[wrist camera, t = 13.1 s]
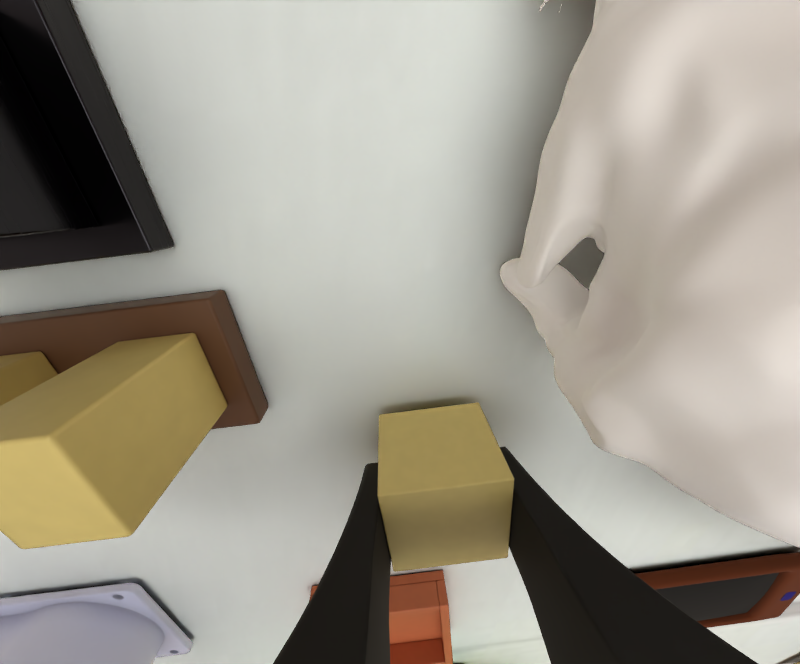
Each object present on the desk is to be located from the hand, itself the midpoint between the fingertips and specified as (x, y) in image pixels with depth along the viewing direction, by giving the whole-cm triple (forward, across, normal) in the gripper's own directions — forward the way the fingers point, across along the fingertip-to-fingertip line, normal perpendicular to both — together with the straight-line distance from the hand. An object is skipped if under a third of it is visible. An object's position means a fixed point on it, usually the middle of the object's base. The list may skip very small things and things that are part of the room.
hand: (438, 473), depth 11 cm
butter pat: (+1, 0, 0) cm, 1 cm away
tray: (+2, +4, +15) cm, 16 cm away
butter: (+2, +11, -5) cm, 12 cm away
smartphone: (+2, -16, +17) cm, 23 cm away
